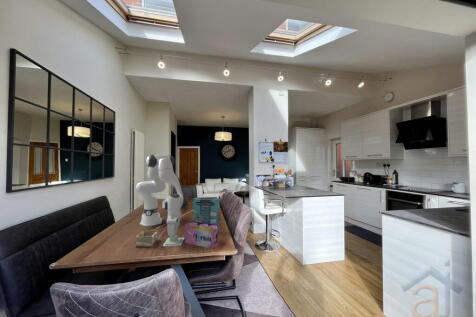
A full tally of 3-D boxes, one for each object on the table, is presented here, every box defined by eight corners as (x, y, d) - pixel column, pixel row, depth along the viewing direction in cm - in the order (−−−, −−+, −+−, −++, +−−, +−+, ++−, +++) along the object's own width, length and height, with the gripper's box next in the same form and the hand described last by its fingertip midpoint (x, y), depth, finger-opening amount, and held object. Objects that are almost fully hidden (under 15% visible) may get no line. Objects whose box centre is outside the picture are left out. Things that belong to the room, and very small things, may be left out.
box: (142, 240, 139) (143, 230, 139) (157, 239, 140) (157, 230, 140) (135, 247, 127) (136, 236, 128) (151, 246, 128) (151, 236, 128)
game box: (219, 231, 159) (219, 198, 159) (217, 234, 152) (218, 199, 153) (194, 230, 161) (195, 197, 161) (192, 233, 154) (192, 198, 155)
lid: (169, 239, 140) (169, 233, 140) (181, 238, 141) (181, 233, 141) (165, 245, 130) (165, 239, 130) (178, 244, 131) (178, 239, 131)
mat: (168, 238, 143) (168, 237, 143) (184, 238, 144) (184, 237, 144) (162, 246, 129) (162, 245, 129) (180, 245, 130) (180, 245, 130)
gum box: (220, 245, 132) (220, 224, 133) (214, 249, 125) (214, 228, 125) (191, 239, 142) (191, 220, 142) (184, 243, 135) (184, 223, 135)
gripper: (173, 213, 146) (172, 232, 146) (165, 221, 126) (165, 243, 125) (181, 213, 147) (181, 232, 146) (175, 221, 126) (175, 243, 126)
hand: (173, 237), depth 136 cm, fingers open, 3 cm apart
